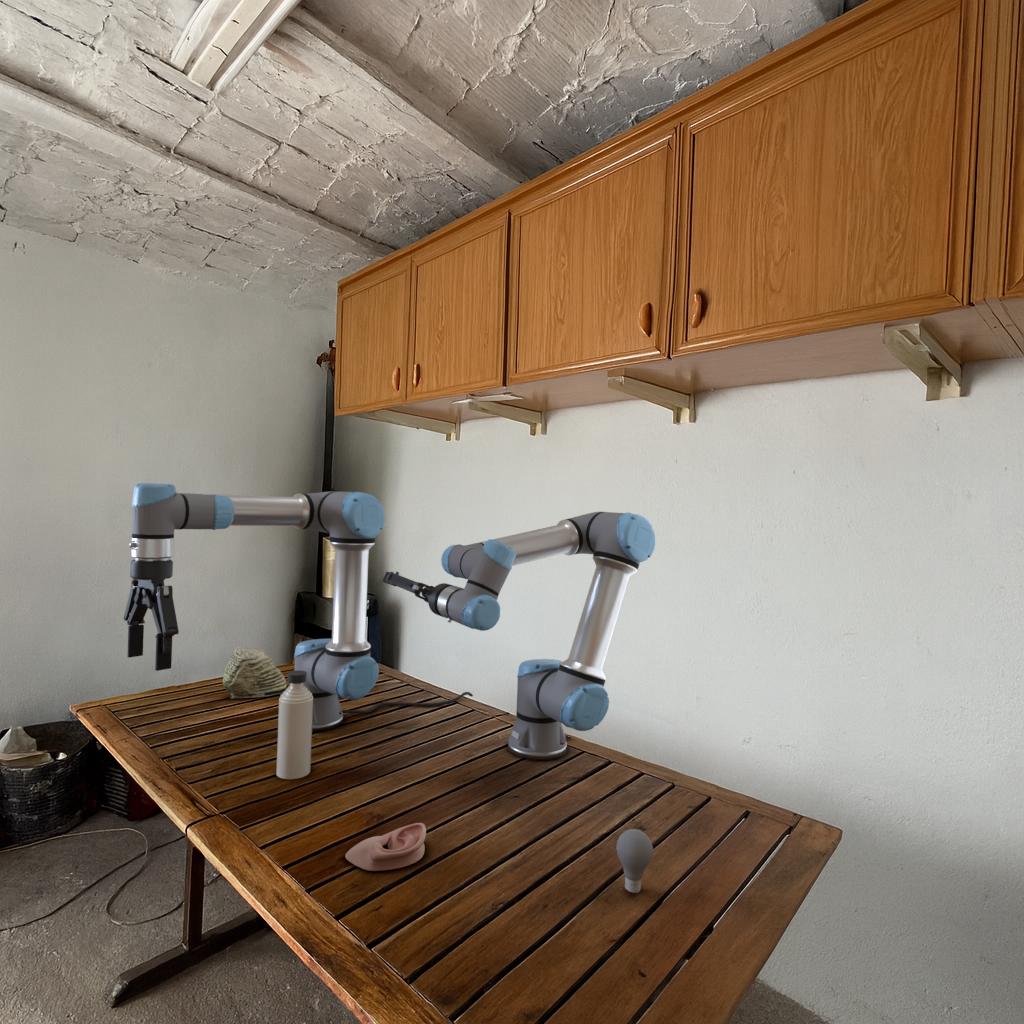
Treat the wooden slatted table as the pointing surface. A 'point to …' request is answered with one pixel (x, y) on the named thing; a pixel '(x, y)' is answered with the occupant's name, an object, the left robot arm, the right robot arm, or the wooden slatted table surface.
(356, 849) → the anatomical model
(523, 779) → the wooden slatted table surface
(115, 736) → the wooden slatted table surface
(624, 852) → the light bulb
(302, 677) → the cap
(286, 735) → the bottle
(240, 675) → the fossil
